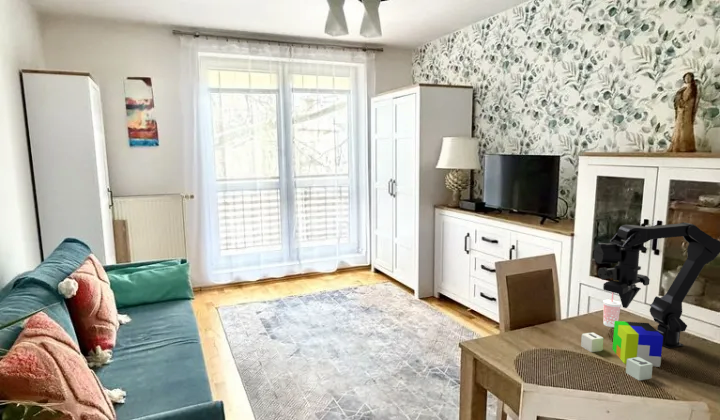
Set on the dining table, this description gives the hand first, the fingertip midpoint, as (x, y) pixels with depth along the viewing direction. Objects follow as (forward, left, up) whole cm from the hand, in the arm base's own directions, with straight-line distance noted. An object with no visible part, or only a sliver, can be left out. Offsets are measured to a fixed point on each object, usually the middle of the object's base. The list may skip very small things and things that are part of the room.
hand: (624, 307), depth 145 cm
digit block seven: (+13, +18, -13) cm, 26 cm away
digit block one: (+13, 0, -13) cm, 18 cm away
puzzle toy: (+4, +9, -13) cm, 17 cm away
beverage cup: (-9, -14, -13) cm, 21 cm away
